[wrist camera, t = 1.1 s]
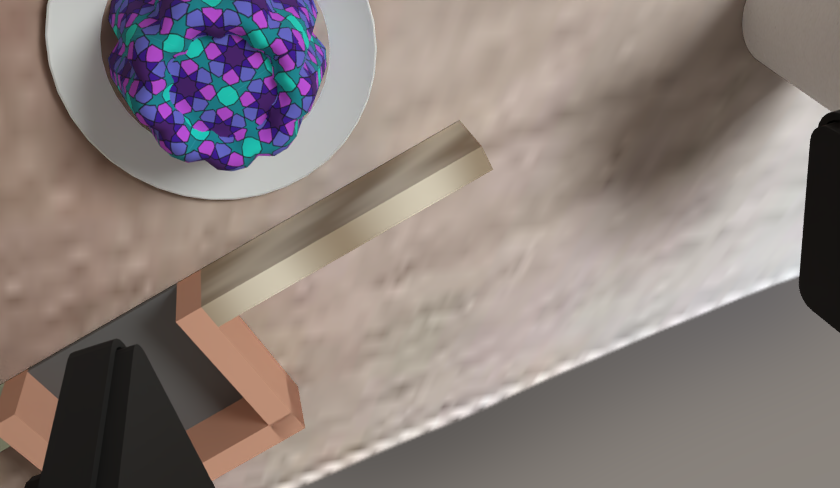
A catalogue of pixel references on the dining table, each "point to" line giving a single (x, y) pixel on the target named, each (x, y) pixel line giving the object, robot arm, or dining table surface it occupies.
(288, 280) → the track
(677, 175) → the dining table surface
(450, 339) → the dining table surface
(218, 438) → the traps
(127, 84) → the pudding
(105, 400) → the robot arm
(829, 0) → the dixie cup
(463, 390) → the dining table surface
